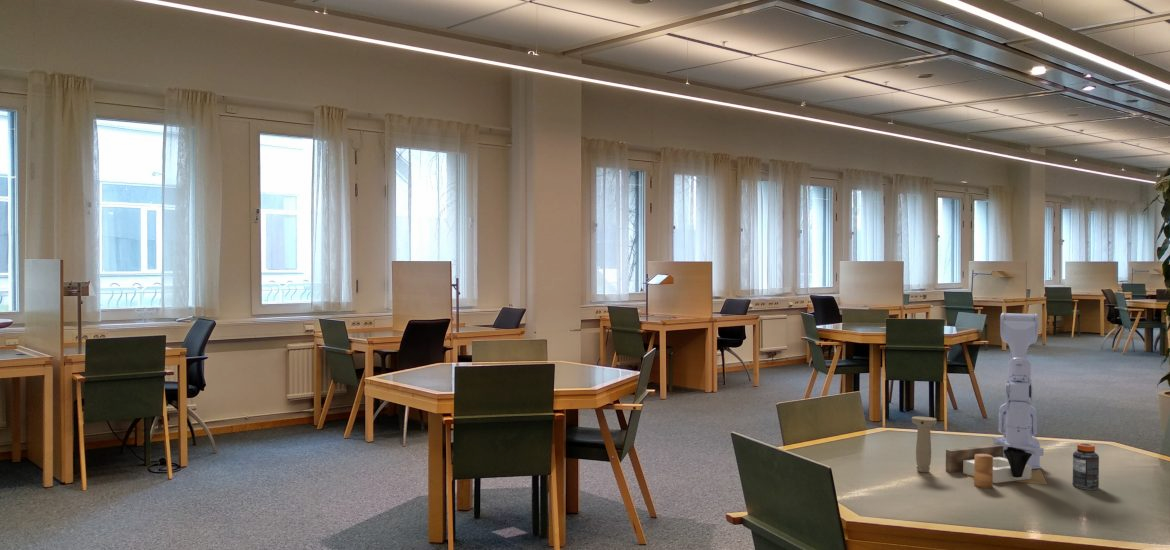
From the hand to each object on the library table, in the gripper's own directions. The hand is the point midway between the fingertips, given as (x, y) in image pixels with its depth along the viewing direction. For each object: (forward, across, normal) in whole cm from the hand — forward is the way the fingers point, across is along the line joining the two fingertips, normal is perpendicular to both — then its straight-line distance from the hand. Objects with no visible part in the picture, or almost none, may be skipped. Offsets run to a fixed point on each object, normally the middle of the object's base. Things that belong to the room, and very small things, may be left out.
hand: (1017, 476), depth 229 cm
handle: (+2, -17, -16) cm, 24 cm away
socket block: (+1, -7, 0) cm, 7 cm away
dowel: (+1, 0, -12) cm, 12 cm away
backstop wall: (+1, -15, 0) cm, 15 cm away
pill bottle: (+2, +10, +13) cm, 16 cm away
